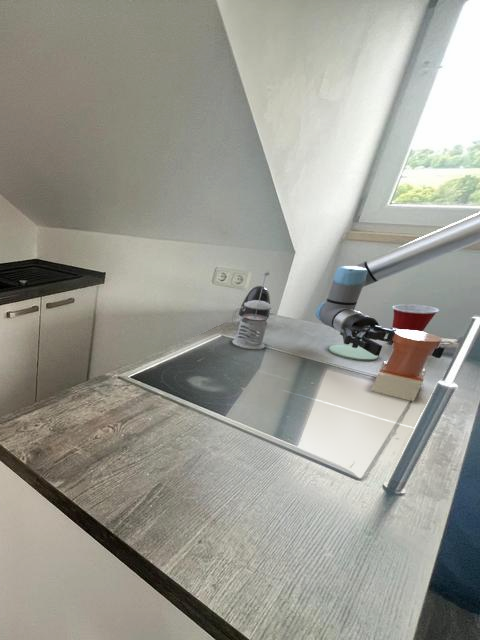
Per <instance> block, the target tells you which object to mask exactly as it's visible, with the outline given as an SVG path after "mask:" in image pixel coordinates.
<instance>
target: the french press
mask: <svg viewBox="0 0 480 640" xmlns="http://www.w3.org/2000/svg"><path fill="white" fill-rule="evenodd" d="M261 273H262V276H264V278H263V282H262V285H261V286H262V289H263V287H264V284H265V280H266V277H267V276H270V272H269V271H267V270H266V271H263V272H261ZM261 293H262V290H261ZM260 297H261V294H260ZM244 306H246V307H248V308H252V309H258V310H269V309H270V310H271V309H273V306H272V305H271V303H270V304H269V303H267V302H265V301H261V300H260V298H259V300H253V301H249V302H246V303H244ZM244 306H243V307H244ZM243 307H241V306H240V307H238V308H237V309H235V310H234V311H233V313H232V316H231V321H232V324H233V326H235V327H236V328H237V332H236V336H235V338H234V339H232V341H231V343H232V344H233V345H235V346H237V347H239V348H244V349H249V350H262V349H264V348H265V347H266V345H265V344H264V338H265V334H266V331H267V327H268V322H267V321H266V320H268V319H269V318H267V317H265V316H261V315H256V314H245V315H243V317H244V318H243V319H242V321H240V320H239V321H240V322H239V324H238V323H237V321H236V315H237V314H236V313H237V312H239V310H240V308H243ZM246 307H245V309H246ZM245 309H244V308H243V310H244V311H245ZM243 310H242V311H243ZM256 313H257V310H256ZM250 321H256V322H258V323H259V324H261V325H258V324H256V323H247V322H250Z"/></svg>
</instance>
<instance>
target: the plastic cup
mask: <svg viewBox="0 0 480 640" xmlns="http://www.w3.org/2000/svg"><path fill="white" fill-rule="evenodd" d="M391 308H392V309H393V319H392V326H391V328H392V327H394V328H397V329H400V330H412V331H419V332H424V330H425V329H426V328H427V326H428V325H429V323H430V322H431V320H433V318H434V317H435V315H436V314H437V313H438V312H439V311H440V309H439V308H436V307H433V306H430V305H429V306H428V305H421V304H395V305H392V306H391Z"/></svg>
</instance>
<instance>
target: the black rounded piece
mask: <svg viewBox="0 0 480 640" xmlns="http://www.w3.org/2000/svg"><path fill="white" fill-rule="evenodd" d="M262 286H263V285H256V286H253V288H252V289H251V290H249V292H247V294H246V296H245V298H244V299H243V301H242V303H241V305H240V307H243V306H244V303H246V302H249V301H253V300H259V298H260V300H261V301H265V302H267V303H269V304H270V305H271V295H270V293H269V290H268V288H267V287H265V286H263V289H262ZM261 290H262V293H261ZM260 294H261V297H260ZM240 307H239V308H240ZM245 307H246V306H244V307H243V308H244V309H245ZM243 308H240V309H238V319H239V321H242V319H243V318H244V317H243V315H245V314H256V315H261V316H265V317H267V318H268V319H270V317H271V309H269V310H258V309H252V308H248V307H246V309H245V311H244V310H243ZM242 310H243V311H242ZM256 310H257V313H256ZM268 319H267V320H268ZM267 320H266V322H267ZM247 323H256V324H258V325H261V324H259V323H258V322H256V321H250V322H247Z"/></svg>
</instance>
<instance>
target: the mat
mask: <svg viewBox="0 0 480 640" xmlns="http://www.w3.org/2000/svg"><path fill="white" fill-rule="evenodd" d="M328 351H329V352H330V353H332V354H334V355H336V356H339V357H343V358H347V359H351V360H355V361H375V360H378V357H379V356H375V355H374V354H372V353H370V352H368V351H367V350H365V349H363V348H361V347H359V346H358V347H357V348H353V347H352V345H351V344H333V345H330V346H329V347H328Z"/></svg>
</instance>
